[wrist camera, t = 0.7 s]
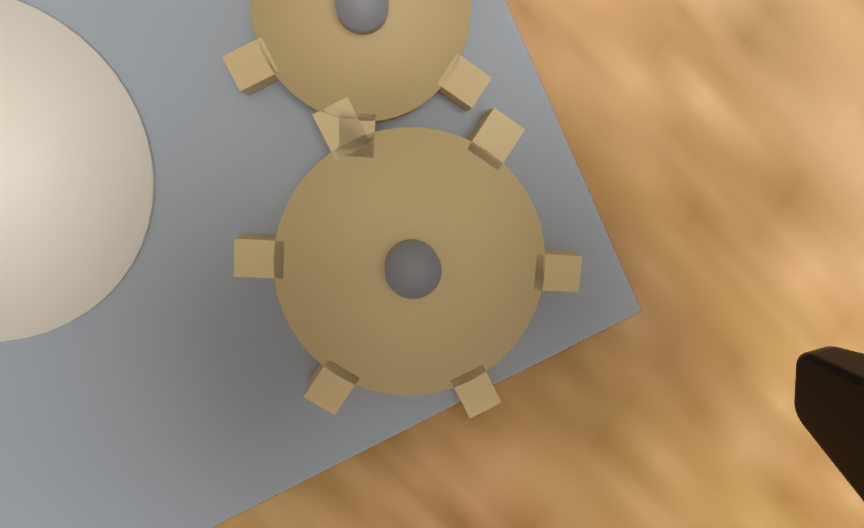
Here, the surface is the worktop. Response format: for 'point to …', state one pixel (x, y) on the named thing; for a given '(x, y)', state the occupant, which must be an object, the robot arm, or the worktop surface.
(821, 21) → the worktop surface
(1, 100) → the pad
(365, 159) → the gear board
